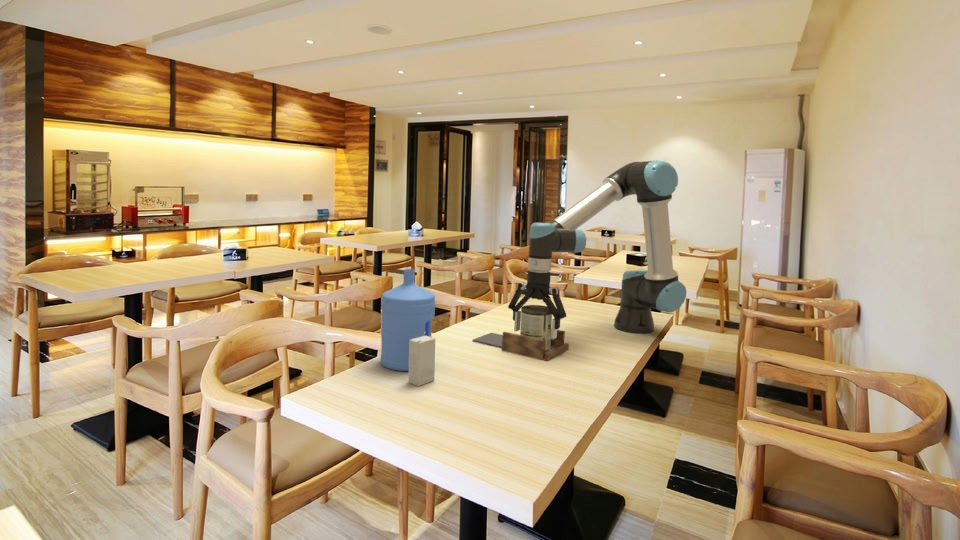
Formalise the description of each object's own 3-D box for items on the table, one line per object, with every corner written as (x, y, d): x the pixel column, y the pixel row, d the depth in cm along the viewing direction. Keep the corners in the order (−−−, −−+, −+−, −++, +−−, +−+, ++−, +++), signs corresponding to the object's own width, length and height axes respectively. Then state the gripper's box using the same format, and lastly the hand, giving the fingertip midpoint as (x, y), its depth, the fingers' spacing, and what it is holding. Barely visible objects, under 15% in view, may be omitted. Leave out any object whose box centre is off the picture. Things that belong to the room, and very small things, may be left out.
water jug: (390, 375, 145) (391, 275, 140) (374, 358, 158) (374, 266, 154) (442, 368, 152) (444, 273, 148) (422, 352, 166) (424, 265, 161)
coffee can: (519, 344, 179) (521, 303, 176) (549, 346, 178) (552, 305, 175) (518, 353, 169) (520, 310, 166) (550, 355, 168) (553, 312, 165)
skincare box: (423, 376, 144) (424, 334, 143) (435, 381, 142) (436, 338, 140) (407, 382, 140) (407, 338, 138) (418, 387, 137) (419, 342, 135)
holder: (568, 349, 175) (569, 332, 174) (547, 361, 162) (549, 342, 161) (524, 339, 184) (525, 323, 183) (501, 350, 171) (502, 332, 170)
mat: (519, 340, 183) (520, 338, 183) (502, 348, 173) (502, 346, 173) (491, 334, 189) (491, 332, 189) (472, 341, 180) (472, 339, 180)
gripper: (500, 267, 173) (496, 329, 176) (569, 277, 159) (564, 344, 162) (511, 265, 179) (508, 325, 182) (579, 274, 165) (574, 339, 168)
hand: (535, 334), depth 172 cm, fingers open, 13 cm apart
